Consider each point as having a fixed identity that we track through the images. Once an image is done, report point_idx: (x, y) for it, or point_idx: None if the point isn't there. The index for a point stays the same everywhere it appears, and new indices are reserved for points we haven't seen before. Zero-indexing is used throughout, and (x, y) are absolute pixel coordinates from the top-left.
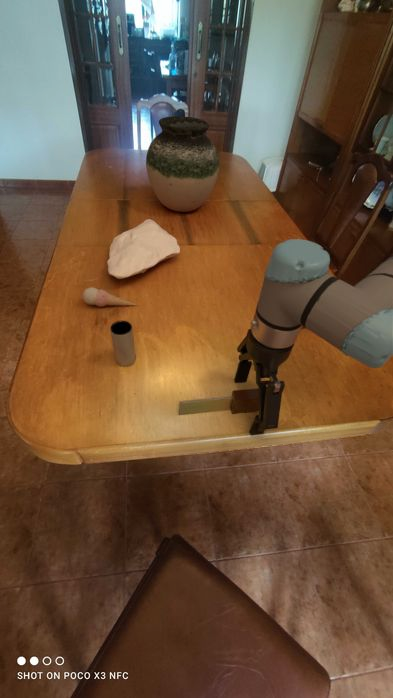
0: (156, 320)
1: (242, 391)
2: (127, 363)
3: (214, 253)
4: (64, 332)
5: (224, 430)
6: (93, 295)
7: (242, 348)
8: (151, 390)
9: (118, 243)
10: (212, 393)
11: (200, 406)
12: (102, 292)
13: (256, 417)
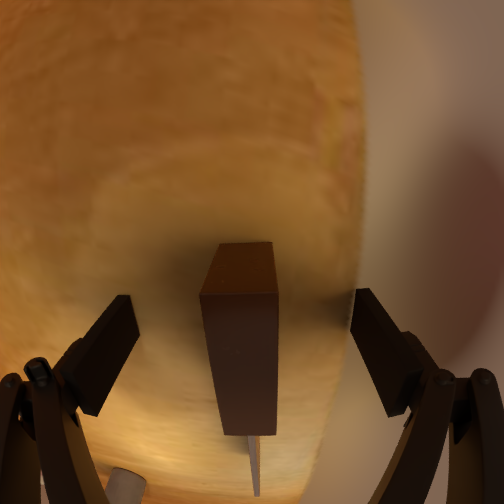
0: None
1: (230, 413)
2: (142, 485)
3: None
4: None
5: (325, 389)
6: (41, 479)
7: (38, 456)
8: (193, 471)
9: None
10: (190, 397)
11: (258, 455)
12: None
13: (396, 413)
